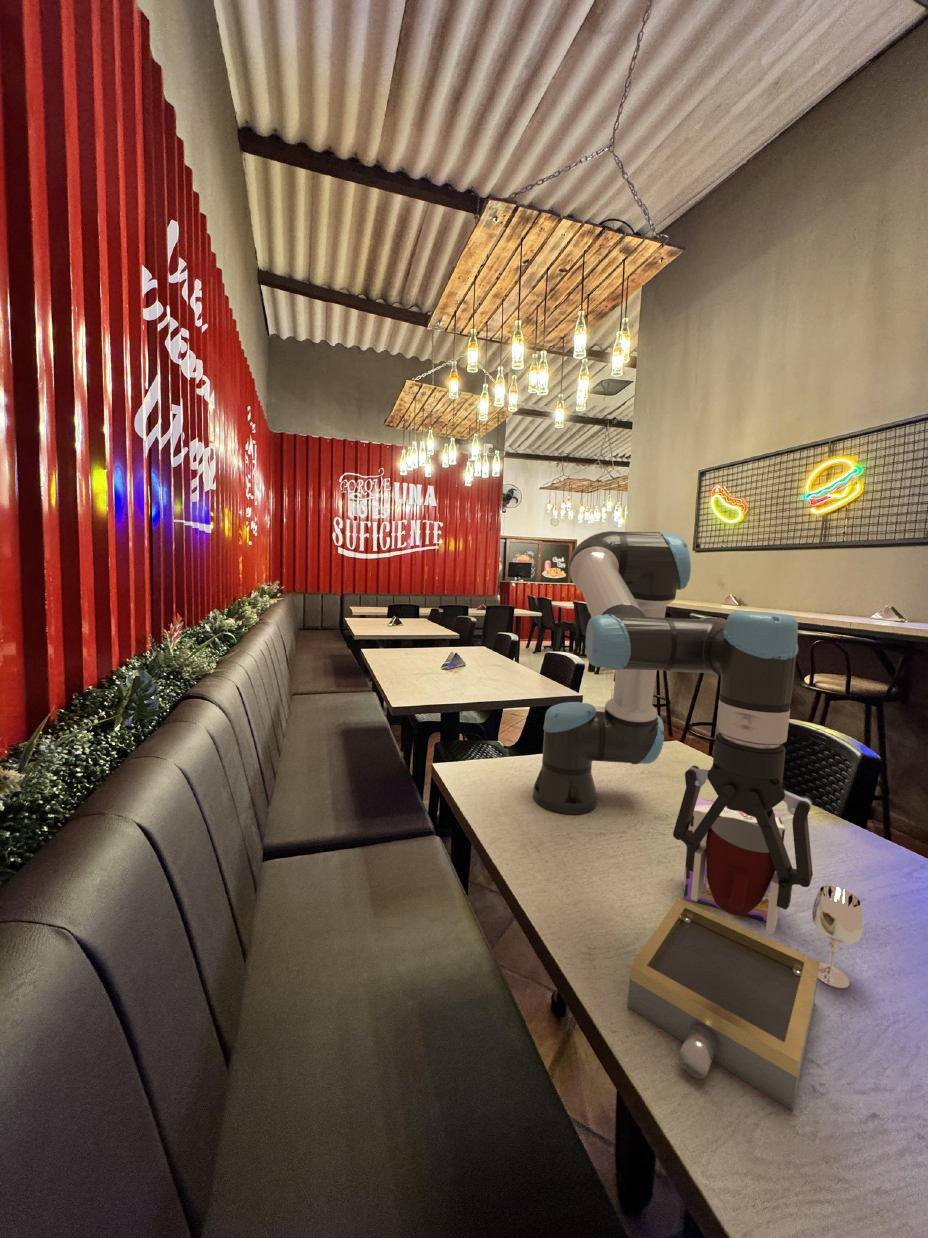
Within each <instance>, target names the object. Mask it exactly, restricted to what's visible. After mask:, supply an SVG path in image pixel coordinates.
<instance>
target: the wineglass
mask: <svg viewBox="0 0 928 1238" xmlns="http://www.w3.org/2000/svg"><path fill="white" fill-rule="evenodd" d="M811 919H812V923H813V925H814V926H815V928H816V930H817V931H818V932H819V933H820V934H821V935H822V936H824V938H826V939H827V940H829V942H828V947H829V953H830V955H829V959H828V960H829V962H828V963H826V962H824V961H823V962H821V961H819V962H820V965H819V973H818V980H820V981H822V982H823V983H824V984H826V985H828V986H831V987H834V988H837V989H846V988H848V987H849V986H850V980H849V977H848V976H847V975H846V973H844V972H843V971H842V970H841V969H840V968H837V967H836V966H834V962H835V961H834V960H835V955H836V952H837V951H838V949H839V944H841V945H853V944H855V943H857V942H858V941H859V940H860V939H861V937H862V935H863V932H864V925H865V923H864V912H863V906H862V902H861V899H859V897H857V895H855V894H854V893H851V892H850V891H849V890H846V889H845V888H843V887H838V886H835V885H829V884H828V885H822V886H820V887H819V889H818V890H817V893H816V894H815V897H814V899H813V903H812V907H811Z"/></svg>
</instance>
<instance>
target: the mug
mask: <svg viewBox="0 0 928 1238" xmlns="http://www.w3.org/2000/svg"><path fill="white" fill-rule="evenodd" d="M706 870H707V881H708V885H709V888H710V890H711V893H712V896H713V899H714V901H715V903H716V904H717V905H718V906H719V907H720V908H721V910H722V911H725V912H727V913H728V914H732V915H735V916H740V917H741V916H746V914H748V913H749V912H750V911H751V910H753V909H754V908H755V907H756V906H757V905H758V904H759V903H760V902H761V901H762V899H763V897H764V895H765V893H766V891H767V889H768V887H769V884H770V882H771V880H772V878H773V876H774V873H775V871H776V870H775V867H774V864H773V862H772V859H771V856H770V853H769V850H768V847H767V845H766V842H765V839H764V836H763V833H762V830H761V828H760V827H759V826H757V825H755V824H752V823H750V822H747V821H744V820H740V819H736V818H730V817H718V818H717V819H716V821H715V822H714V824H713V825H712V827H711V828H710V829H709V831H708V833H707V838H706ZM720 908H719V909H720Z"/></svg>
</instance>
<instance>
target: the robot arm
mask: <svg viewBox="0 0 928 1238" xmlns="http://www.w3.org/2000/svg"><path fill="white" fill-rule="evenodd" d="M691 566H692V565H691V555H690V551H689V547H688V544H687V542H686V541H685V539H684V538H683V537H682V536H680V535H679V534H676V533H669V532H661V531H615V530H614V531H613V530H610V531H608V530H607V531H602V532H598V533H595V534H593V535H591V536H588V537H587V538H586V539H584V540H583V541H581V542H580V543H579V544H578V545H577V546H576V547H575V548H574V550H573V551H572V553H571V555H570V558H569V560H568V574H569V576H570V579H571V582H573V585H574V586H576V587H577V589H579V590H581V593H582V596H583V599H584V601H585V605H586V607H587V610H588V612H589V614H590V619H589V620H588V622H587V626H586V632H585V649H586V650H585V651H586V658H587V661H588V663H590V665H592V666H593V667H597V668H607V669H611V670H615V681H614V688H613V695H612V696H613V697H612V698H611V699H609V700H607V701H606V702H605V705H604V711H603V710H602V711H601V710H600V711H598V710H596V707H595V706H594V705H593V704H590V703H587V702H581V701H568V702H561V703H557V704H555V705H552V706H550V707H549V708H548V709H547V710H546V712H545V714H544V715H545V716H544V724H543V731H544V732H543V745H542V760H541V761H542V763H541V768H540V771H539V772H538V775H537V778H536V780H535V782H534V785H533V796H532V797H533V800H534V801H535V802H536V804H538V805H539V806H540V807H542V808H543V809H546V810H547V811H551V812H555V813H558V814H563V815H584V814H587V813H590V812H592V811H594V809H596V807H597V804H598V803H597V802H598V793H597V790H596V786H595V781H594V777H593V774H592V766H593V765H592V763H593V762H605V763H622V764H623V763H624V764H631V765H639V764H642V765H643V764H645V765H646V764H648V765H649V764H652V763H654V762H655V761H656V760H657V759H658V758H659V756H660V754H661V752H662V750H663V745H664V740H665V735H664V732H665V727H664V721H663V719H662V718H661V716H659V715H658V710H657V708H656V707H654V705H653V699H654V691H655V684H656V680H657V679H656V678H657V672H658V671H663V672H677V673H679V672H680V673H683V672H684V673H697V674H699V673H700V674H701V673H703V674H714V675H716V676H718V677H720V685H719V686H720V688H719V694H718V705H717V706H718V708H717V716H716V717H717V719H716V726H715V727H716V730H717V731H718V733H717V734H716V735H715V738H714V748H713V759H712V766H711V767H710V768H709V769H704V768H700V767H698V765H692V766H691V767H689V768H687V770H686V771H685V772H684V781H685V790H684V794H683V797H682V801H681V804H680V806H679V807H680V808H679V811H678V814H677V818H676V822H675V825H674V829H673V832H672V836H673V838H674V839H675V840H677V841H681V842H683V844H685V846H686V849H687V855H686V854H685V861H686V868H687V870H689V871H692V872H693V880H692V890H691V899H692V900H694V901H697V900H698V899H699V897H700V896H701V894H702V892H703V885H704V875H705V864H706V846H705V845H702V844H701V845H700V842H701V841H702V840H703V838H704V837H705V835H706V834H707V832H708V831H709V829H710V828H711V827H712V825H713V824H714V822H715V821H716V819H717V818H718V817H719V815H720V814H721V812H722V811H723V809H724V808H725V807H726V806H727V809H730V810H733V811H741V812H743V813H745V814H747V815H749V816H752V817H756V820H757V823H758V825H759V827H760V828H761V830H762V833H763V836H764V839H765V842H766V845H767V847H768V850H769V853H770V856H771V859H772V862H773V864H774V867H775V870H776V872H775V873H774V876H773V878H772V880H771V887H770V896H769V905H768V914H767V921H766V922H765V923H766V924H765V925H766V926H765V933H767V934H769V935H771V936H774V933H775V930H776V928H777V925H778V917H779V908H781V909H783V910H786V911H787V910H788V908H789V906H790V903H791V900H792V893H793V886H794V885H795V886H796V885H797V886H798V885H799V886H801V887H803V888H808V887H809V886H810V885H811V882H812V879H813V876H814V875H813V874H814V873H813V860H812V851H811V840H810V838H811V837H810V829H809V817H808V816H809V814H810V810H811V807H812V806H813V800H812V799H811V797H809V796H808V795H802V796H799V795H797V794H794V793H792V792H790V791H787V788H786V786H785V784H784V778H783V776H784V769H785V760H786V753H787V750H786V747H785V745H784V743H786V742H787V739H788V731H789V724H790V715H791V709H790V707H791V703H792V695H793V690H794V689H793V688H794V680H795V672H796V665H797V659H798V658H797V656H798V653H799V645H798V631H799V623H798V621H797V619H796V618H795V617H793V616H792V615H790V614H785V613H776V612H770V611H769V612H767V611H766V612H765V611H751V610H736V611H733V612H731V613H730V614H729V615H728V616H727V619H725V618H722V617H710V616H709V617H702V618H698V619H696V618H678V617H677V618H675V617H673V618H672V617H666V611H667V606H668V605H669V604H671V603H672V602H673V601H675V600H676V595H677V591H680V590H683V589H685V588H687V586H688V583H689V581H690V577H691V568H692V567H691ZM707 780H708V782H709V783H710V785H711V786H712V789H713V790H714V791H715V793H716V795H717V797H716V799H715V800H714V801H715V802H714V803H713V805H712V806H711V808H710V809H709V811H708V812H707V814H706V815H705V817H704V818H703V819H702V821H701V822H700V824H699V825H698V827H697V828H696V830H695V831H694V833H692V832H691V831H690V830H688V829H689V826H690V822H691V819H692V815H693V812H694V809H695V805H696V802H697V798H699V794H700V791H701V787H703V786H704V785H705V783H706V781H707ZM781 802H783V803H785V804H786V806H787V807H786V808H787V809H786V810H787V812H788V813H789V814H791V816H792V822H791V823H792V835H793V837H792V838H793V846H794V855H795V868H793V866H792V862H791V860H790V858H789V854H788V852H787V849H786V846H785V844H784V843H785V842H784V843H783V840H782V837H781V834H780V832H779V829H778V826H777V823H776V820H775V814H774V813H775V812H774V807H776V806H777V805H778V804H780V803H781ZM694 901H693V902H694Z"/></svg>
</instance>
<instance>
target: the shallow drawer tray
mask: <svg viewBox="0 0 928 1238" xmlns="http://www.w3.org/2000/svg"><path fill="white" fill-rule="evenodd" d="M820 962H821V961H819V960H817V959H814V958H812V957H810V956H807V955H806V954H803V953H801V952H798V951H797V950H794V949H793V948H789V947H787V946H785V945H783V944H781V943H778V942H777V941H774V940H772V939H770V938H767V937H765V936H763V935H762V934H759V933H756V932H754V931H752V930H749V929H748V928H745V927H742V926H741V925H739V924H736V923H734V922H732V921H729V920H727V919H725V918H723V917H721V916H719V915H716V914H714V913H713V912H710V911H708V910H705V909H703V908H701V907H699V906H697V905H694V904H692V903H690V902H688V901H686V900H683V899H681V898H679V897H678V898H676V901H675V902H674V903H673V905H672V906H671V907H670V909H669V911H668V912H667V913H666V914H665V916H664V917H663V919H662V920H661V922H660V923H659V924H658V926H657V928H656V929H655V930H654V932H653V934H652V935H651V936H650V938H649V939H648V940H647V942H646V943H645V944H644V946H643V948H642V949H641V951H640V952H639V953H638V955H637V956H636V958H635V960H634V961H633V962H632V963H631V965H630V974H629V983H628V984H629V985H628V998H627V1008H628V1009H629V1010H632V1011H633V1012H635V1013H636V1014H638V1015H640V1016H641V1017H643V1018H644V1019H645V1020H647V1021H649V1022H651V1023H652V1024H654V1025H655V1026H656V1027H658V1028H660V1029H661V1030H663V1031H664V1032H666V1033H667V1034H670V1035H671V1036H672V1037H674V1038H676V1040H679V1041H681V1042H682V1045H681V1047H680V1049H679V1052H678V1061H679V1063H680V1065H681V1068H683V1069H684V1071H685V1072H686V1073H687V1074H688V1075H690V1076H691V1077H692V1078H694V1079H697V1080H703V1079H705V1078H706V1077H707V1075H708V1073H709V1070H710V1068H711V1065H712V1063H713V1062H714V1063H715V1064H717V1065H719V1066H720V1067H722V1068H723V1069H725V1070H726V1071H728V1072H730V1073H731V1074H733V1075H734V1076H736V1077H737V1078H739V1079H741V1080H742V1081H744V1082H745V1083H747V1084H749V1085H751V1086H752V1087H753V1088H755V1089H757V1090H758V1091H760V1092H761V1093H762V1094H764V1095H766V1096H768V1097H769V1098H770V1099H772V1100H774V1101H775V1102H777V1103H779V1104H780V1105H782V1106H783V1107H785V1108H787V1109H788V1110H790V1111H791V1112H793V1111H794V1108H795V1103H796V1099H797V1092H798V1087H799V1082H800V1077H801V1071H802V1067H803V1063H804V1058H805V1053H806V1048H807V1043H808V1038H809V1033H810V1028H811V1023H812V1017H813V1014H814V1009H815V1004H816V995H817V987H818V981H819V979H818V973H819V965H820Z"/></svg>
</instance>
